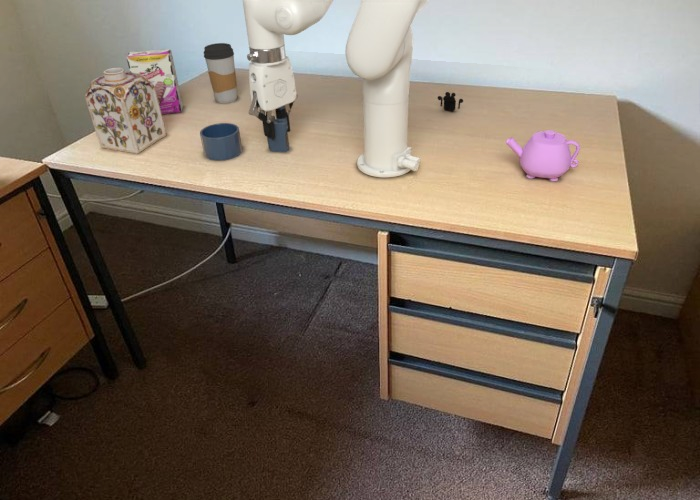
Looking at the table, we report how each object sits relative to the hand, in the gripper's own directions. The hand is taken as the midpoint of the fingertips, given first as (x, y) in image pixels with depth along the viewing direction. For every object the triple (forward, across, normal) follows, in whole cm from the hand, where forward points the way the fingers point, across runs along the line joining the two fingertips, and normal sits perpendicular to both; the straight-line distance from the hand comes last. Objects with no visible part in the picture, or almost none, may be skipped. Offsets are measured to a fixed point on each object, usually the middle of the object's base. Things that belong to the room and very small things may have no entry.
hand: (277, 133), depth 126 cm
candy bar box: (+5, -3, +45) cm, 45 cm away
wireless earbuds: (+4, +44, -19) cm, 48 cm away
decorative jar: (+4, -19, +33) cm, 38 cm away
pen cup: (+4, -9, +10) cm, 14 cm away
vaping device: (+4, 0, 0) cm, 4 cm away
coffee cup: (+4, +14, +38) cm, 41 cm away
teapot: (+4, +26, -53) cm, 59 cm away
